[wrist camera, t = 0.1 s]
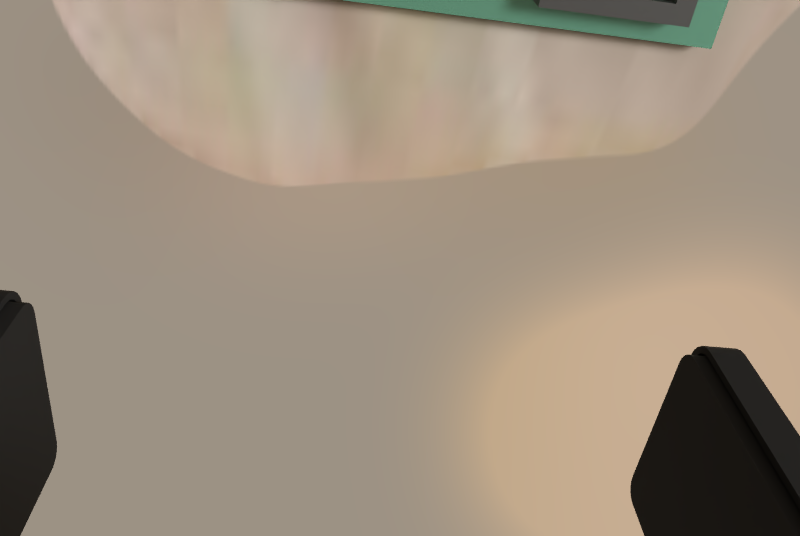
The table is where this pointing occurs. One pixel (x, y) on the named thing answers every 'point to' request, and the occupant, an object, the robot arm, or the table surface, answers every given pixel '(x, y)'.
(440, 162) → the table surface
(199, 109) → the table surface
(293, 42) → the table surface
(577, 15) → the board
